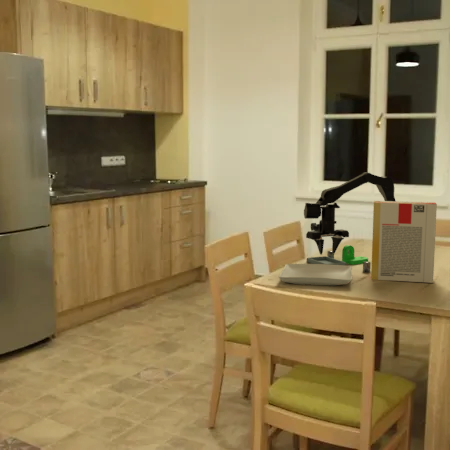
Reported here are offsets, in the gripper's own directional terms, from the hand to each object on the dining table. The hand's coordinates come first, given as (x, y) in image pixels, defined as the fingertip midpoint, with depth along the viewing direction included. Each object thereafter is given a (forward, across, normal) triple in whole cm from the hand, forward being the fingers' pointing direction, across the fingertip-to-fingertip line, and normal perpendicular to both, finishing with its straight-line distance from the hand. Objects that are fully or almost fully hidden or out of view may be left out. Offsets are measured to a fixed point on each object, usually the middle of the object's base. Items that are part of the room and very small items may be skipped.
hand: (327, 253), depth 266 cm
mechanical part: (+5, -15, +1) cm, 16 cm away
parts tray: (+5, 0, 0) cm, 5 cm away
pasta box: (+5, -11, +36) cm, 38 cm away
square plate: (+5, +20, +22) cm, 30 cm away
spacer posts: (+5, -14, +6) cm, 15 cm away
